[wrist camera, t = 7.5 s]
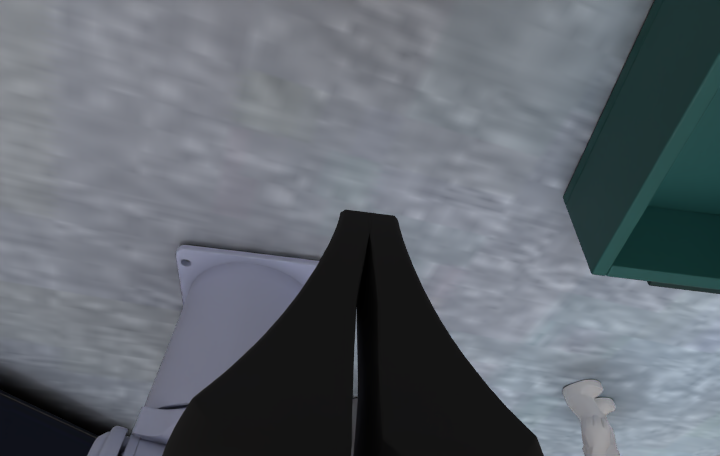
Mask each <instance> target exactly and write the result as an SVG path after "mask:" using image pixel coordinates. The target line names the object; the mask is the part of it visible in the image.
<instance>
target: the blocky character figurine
mask: <svg viewBox="0 0 720 456" xmlns="http://www.w3.org/2000/svg"><path fill="white" fill-rule="evenodd" d="M562 392H563V395H564V398H565V400H566V403H567V405H568V406H569V408H570V409H571V410H572V411H573V412H574V413H575V415H576V416H577V417H578V418H579V419H580V421H581V431H582V439H583V443H584V445H583V448H582V449H583V452H584V455H585V456H620V454H619V451H618V450H617V445H616V441H615V435H614V431H613V429H612V427H611V425H610V424H609V422H608V419H607V417H606V415H607V414H608V413H610V412H613V411H615V409H616V407H615V404H614V401H613V400H612V399H611V398H604V397H602V398H596V397H597V396H599V395H600V394H601V393H603V387H602V385H601V383H600V382H599V381H597V380H591V379H590V380H583V381H579V382H576V383H573V384H571V385H568V386H566V387H565V388H563V391H562Z"/></svg>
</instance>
